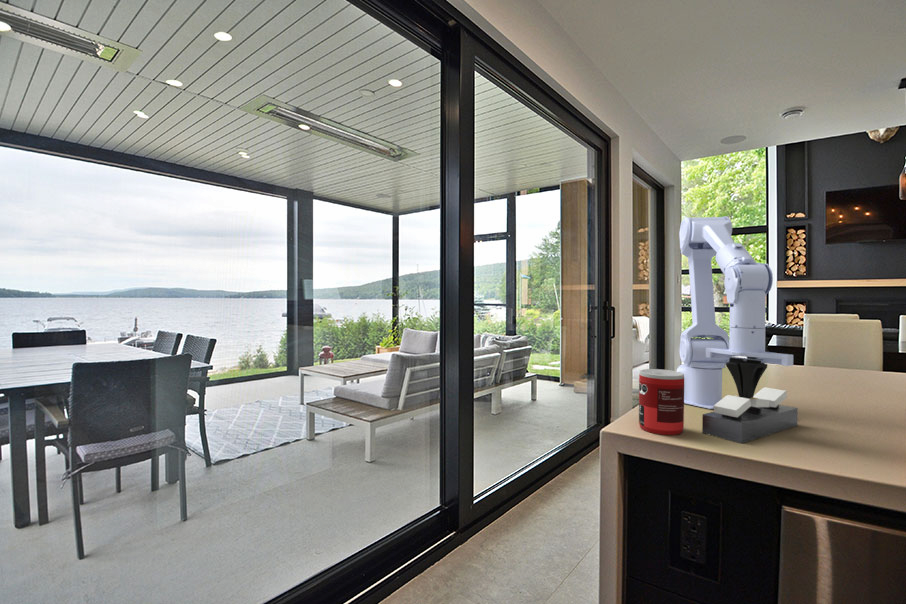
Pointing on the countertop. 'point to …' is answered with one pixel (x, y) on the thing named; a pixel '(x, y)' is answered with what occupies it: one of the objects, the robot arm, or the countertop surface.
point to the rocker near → (732, 406)
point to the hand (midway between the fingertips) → (746, 399)
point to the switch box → (750, 423)
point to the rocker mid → (758, 402)
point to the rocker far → (772, 395)
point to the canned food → (661, 401)
